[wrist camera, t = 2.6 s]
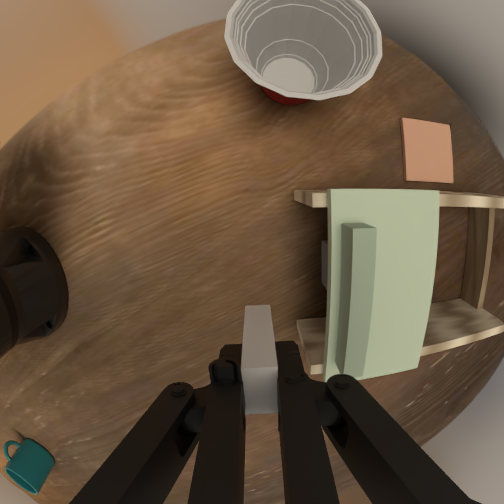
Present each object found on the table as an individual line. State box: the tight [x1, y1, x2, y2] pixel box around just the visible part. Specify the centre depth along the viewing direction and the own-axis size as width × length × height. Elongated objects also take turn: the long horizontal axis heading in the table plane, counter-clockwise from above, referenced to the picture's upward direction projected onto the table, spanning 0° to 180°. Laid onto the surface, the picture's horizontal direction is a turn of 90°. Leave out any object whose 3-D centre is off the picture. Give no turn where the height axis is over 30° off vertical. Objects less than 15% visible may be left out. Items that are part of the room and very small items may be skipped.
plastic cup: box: [224, 0, 382, 105], centre depth 20 cm, size 11×11×12 cm
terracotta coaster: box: [400, 118, 453, 183], centre depth 27 cm, size 7×7×1 cm
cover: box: [322, 189, 439, 382], centre depth 20 cm, size 9×16×3 cm, turn 3°
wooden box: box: [294, 189, 504, 374], centre depth 26 cm, size 24×15×9 cm, turn 93°
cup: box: [4, 439, 55, 495], centre depth 35 cm, size 9×12×11 cm
